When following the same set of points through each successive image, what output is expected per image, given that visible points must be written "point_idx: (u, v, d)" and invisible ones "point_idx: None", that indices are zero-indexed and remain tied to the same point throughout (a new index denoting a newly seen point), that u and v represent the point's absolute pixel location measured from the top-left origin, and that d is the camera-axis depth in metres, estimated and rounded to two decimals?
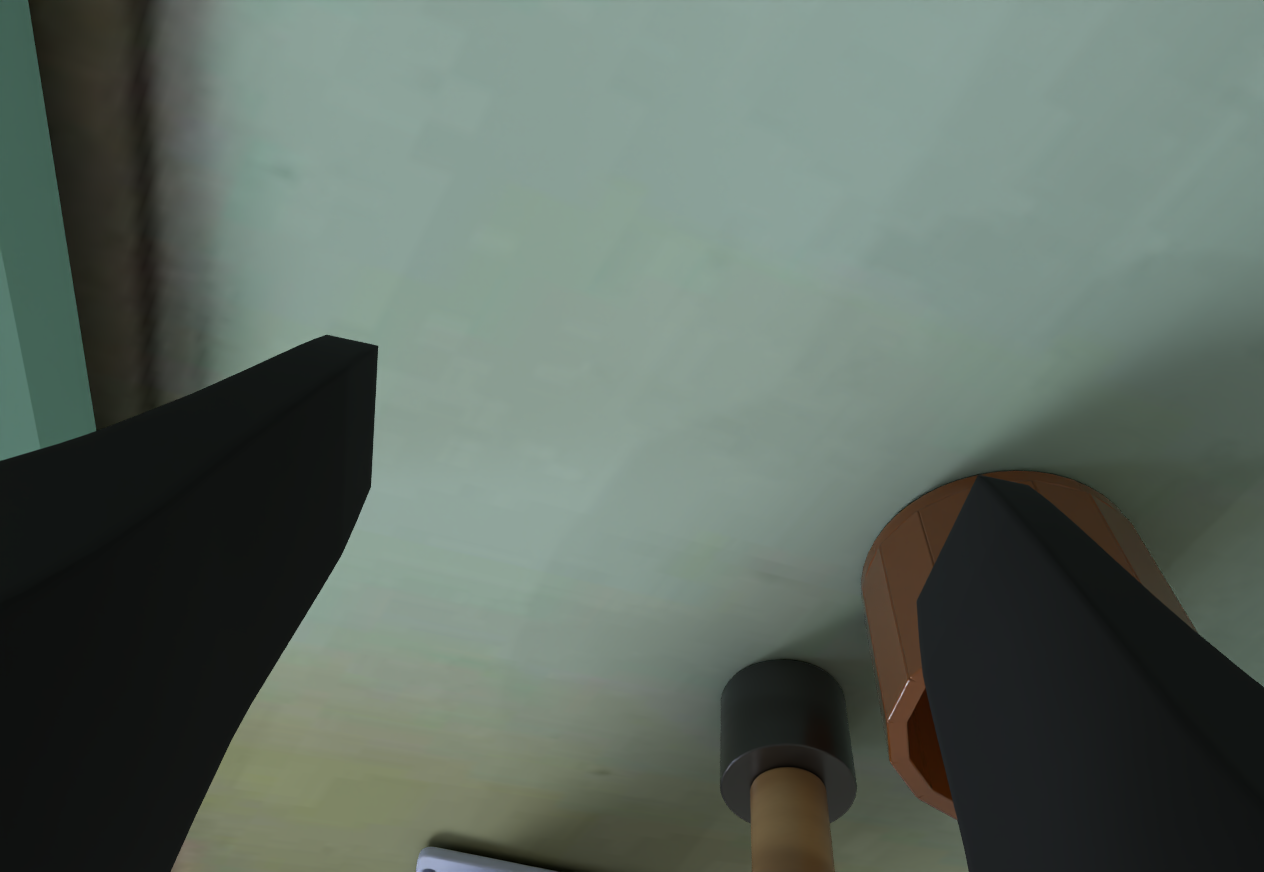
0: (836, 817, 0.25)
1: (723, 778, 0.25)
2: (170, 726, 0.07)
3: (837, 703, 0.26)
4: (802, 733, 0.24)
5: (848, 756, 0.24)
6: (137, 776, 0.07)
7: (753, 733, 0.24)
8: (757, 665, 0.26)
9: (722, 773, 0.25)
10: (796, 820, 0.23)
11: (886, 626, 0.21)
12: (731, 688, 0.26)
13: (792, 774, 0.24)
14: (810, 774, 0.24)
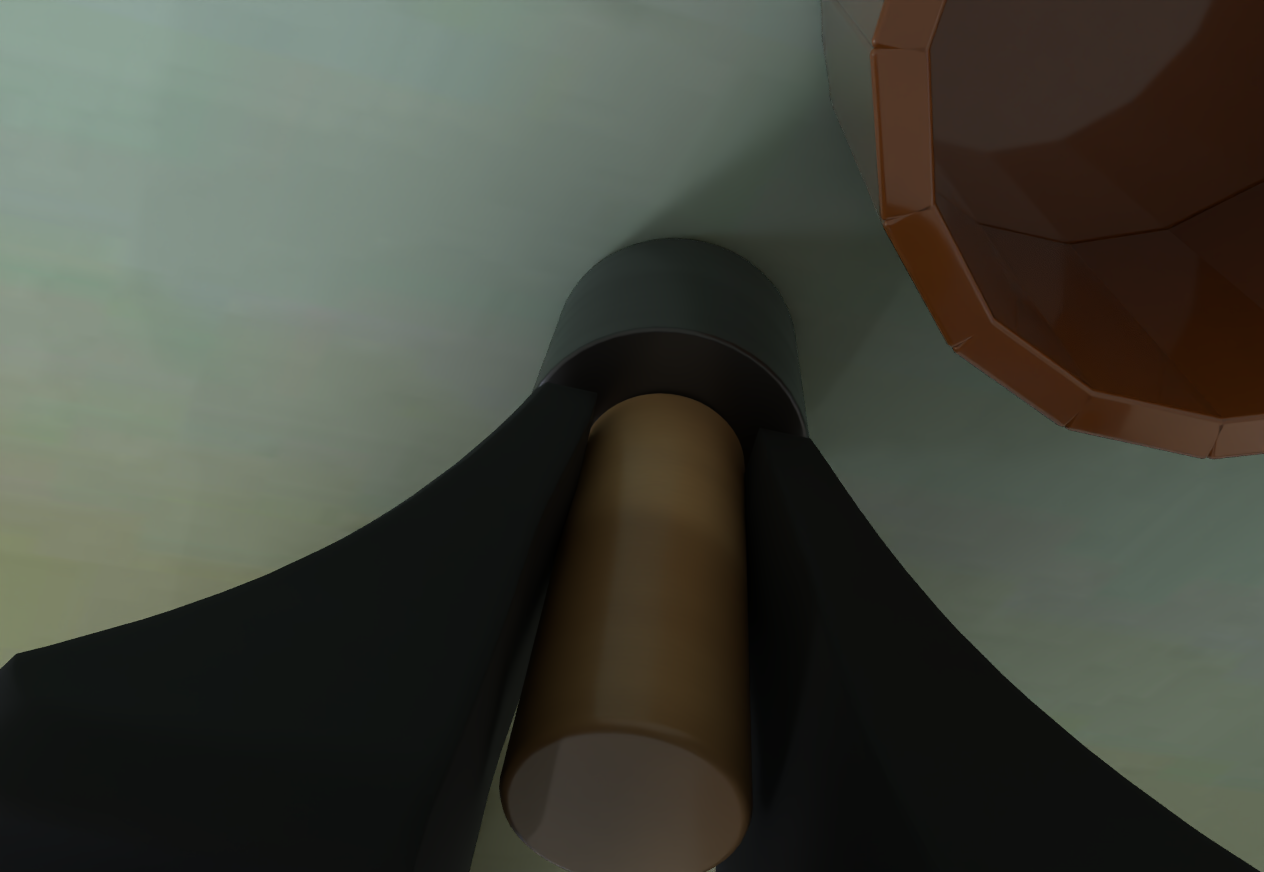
0: None
1: None
2: (481, 789, 0.07)
3: (775, 311, 0.13)
4: (686, 316, 0.11)
5: (791, 380, 0.11)
6: (466, 842, 0.07)
7: (585, 329, 0.11)
8: (617, 252, 0.13)
9: None
10: (657, 467, 0.10)
11: None
12: (567, 302, 0.13)
13: (663, 402, 0.11)
14: (705, 406, 0.11)
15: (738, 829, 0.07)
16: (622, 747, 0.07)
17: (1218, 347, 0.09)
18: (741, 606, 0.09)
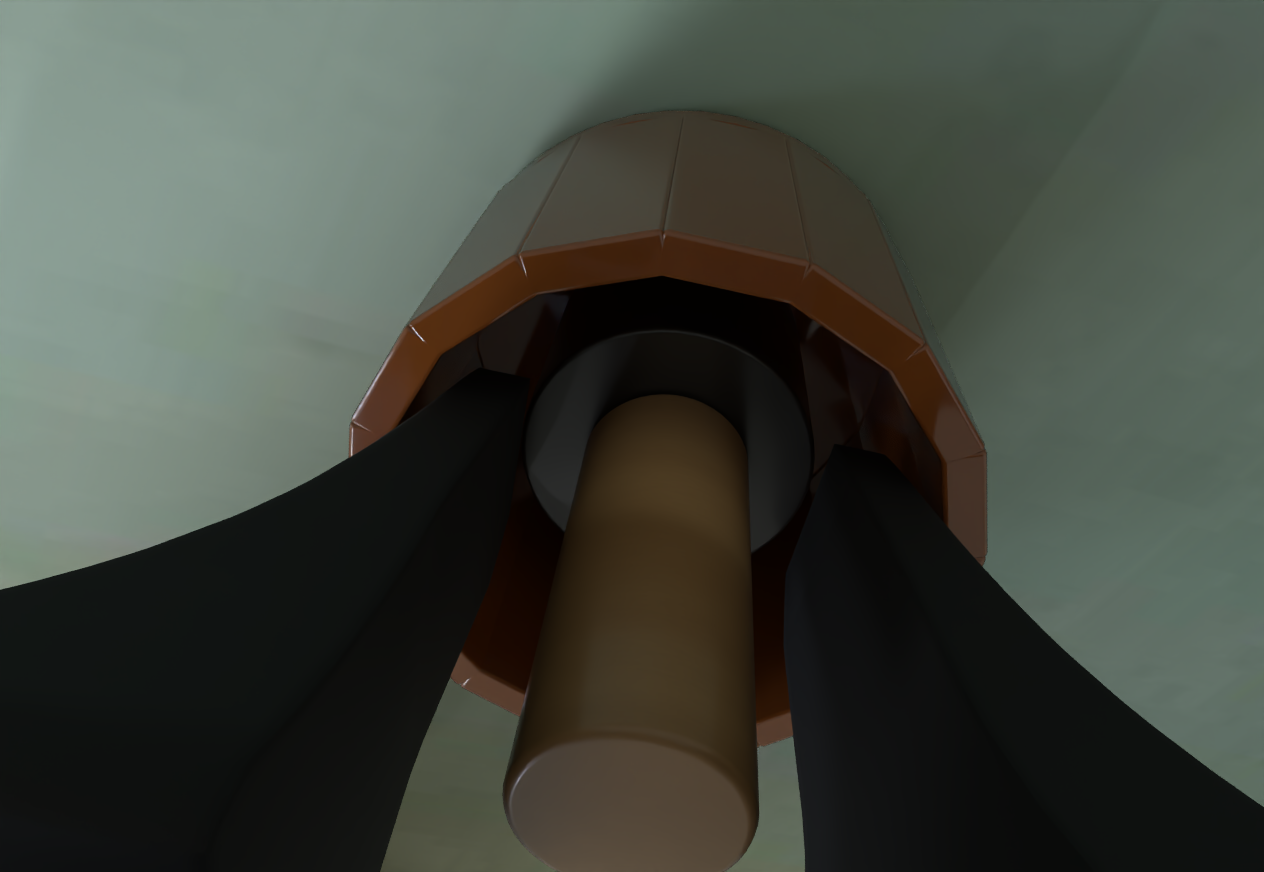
0: (773, 531, 0.12)
1: (525, 436, 0.11)
2: (386, 770, 0.07)
3: None
4: (690, 315, 0.11)
5: (796, 381, 0.11)
6: (365, 822, 0.07)
7: (587, 329, 0.11)
8: None
9: (524, 427, 0.11)
10: (661, 469, 0.09)
11: None
12: (569, 302, 0.13)
13: (667, 403, 0.11)
14: (709, 407, 0.11)
15: (745, 837, 0.07)
16: (627, 753, 0.07)
17: None
18: (746, 609, 0.09)
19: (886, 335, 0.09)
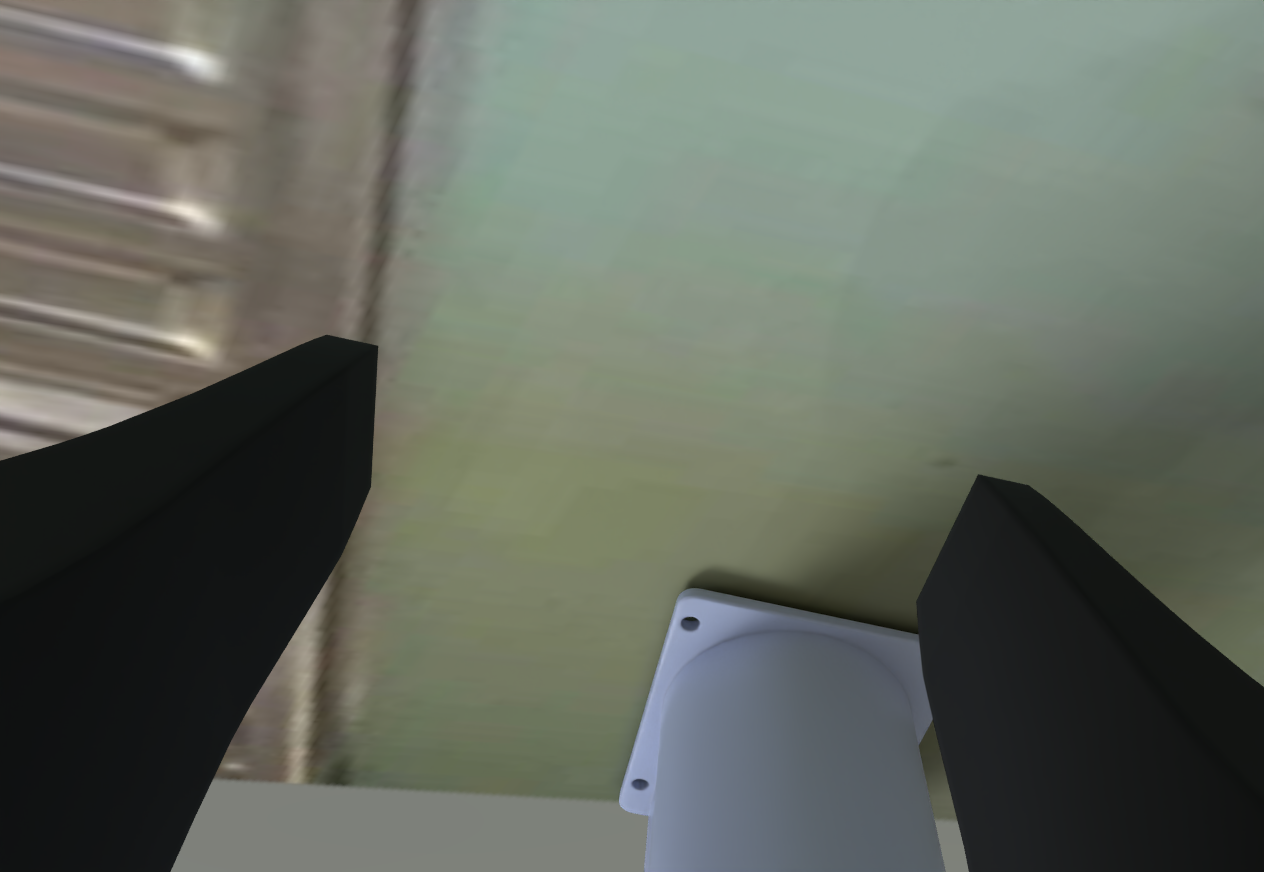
0: None
1: None
2: (170, 726, 0.07)
3: None
4: None
5: None
6: (137, 776, 0.07)
7: None
8: None
9: None
10: None
11: None
12: None
13: None
14: None
15: None
16: None
17: None
18: None
19: None
